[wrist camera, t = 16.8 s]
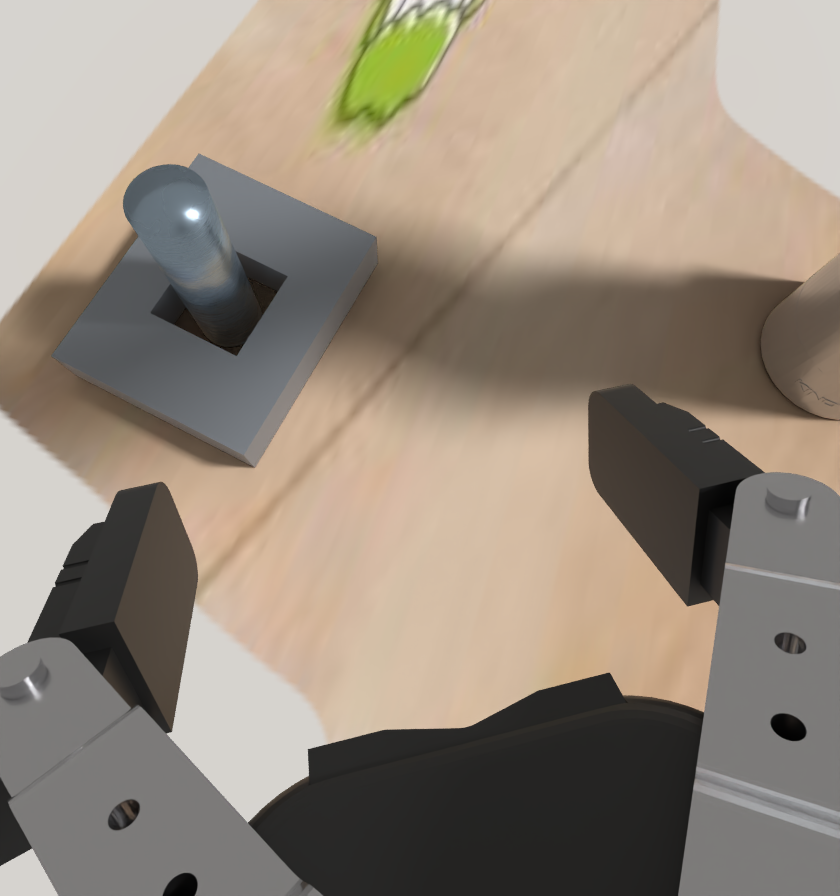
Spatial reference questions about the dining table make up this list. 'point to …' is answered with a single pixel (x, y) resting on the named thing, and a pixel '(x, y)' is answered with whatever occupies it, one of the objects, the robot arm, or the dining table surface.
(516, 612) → the dining table surface
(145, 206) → the steel pin
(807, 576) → the robot arm
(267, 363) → the socket stand
